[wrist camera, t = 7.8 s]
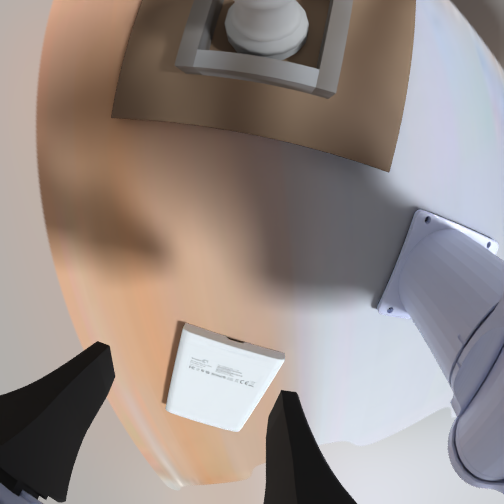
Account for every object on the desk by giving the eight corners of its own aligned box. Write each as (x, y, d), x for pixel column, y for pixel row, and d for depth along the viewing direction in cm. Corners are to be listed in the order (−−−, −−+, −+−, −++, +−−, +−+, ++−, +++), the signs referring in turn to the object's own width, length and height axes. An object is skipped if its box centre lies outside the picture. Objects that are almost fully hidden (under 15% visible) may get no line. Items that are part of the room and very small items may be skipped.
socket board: (410, -5, 10) (428, -21, 7) (383, 170, 15) (403, 177, 12) (170, -46, 10) (157, -65, 7) (119, 118, 15) (93, 117, 12)
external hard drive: (168, 399, 26) (187, 317, 21) (241, 421, 26) (285, 348, 21) (164, 410, 24) (181, 330, 20) (239, 433, 25) (285, 362, 20)
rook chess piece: (216, 16, 11) (171, -59, 4) (288, -6, 10) (294, -90, 3) (244, 75, 13) (214, 16, 5) (320, 52, 12) (358, -17, 5)
